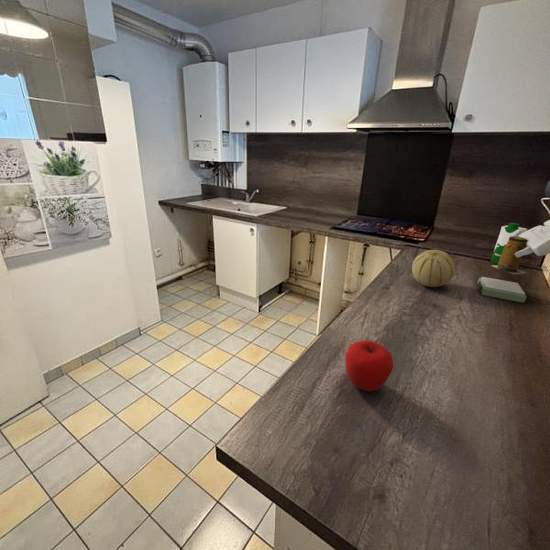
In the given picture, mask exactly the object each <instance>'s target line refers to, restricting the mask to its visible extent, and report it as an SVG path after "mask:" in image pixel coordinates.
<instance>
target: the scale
mask: <svg viewBox="0 0 550 550" xmlns="http://www.w3.org/2000/svg"><path fill="white" fill-rule="evenodd" d="M477 286H478V288H479V291H480V293H481V295H482V296H487V297H492V298H497V299H502V300H507V301H511V302H512V301H513V302H518V303H523V304H525V302H526V300H527V295H526V293H525V291H524V290H523V288H522V287H521V286H520V284H519V282H513V281H508V280H504V279H497V278H491V277H487V276H481V277H479V278H478V281H477Z"/></svg>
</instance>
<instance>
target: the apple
mask: <svg viewBox="0 0 550 550" xmlns="http://www.w3.org/2000/svg"><path fill="white" fill-rule="evenodd" d="M344 355H345V357H344V360H345V371H346V374H347V377H348V379H349V381H350V382H351V384H352V385H354V386H355V387H356V388H358V389H359V390H362V391H364V392H365V391H366V392H369V393H370V392H376V391H378V390H380V389H381V388H382V386H383V385H384V384H385V383H386V382H387V381H388V379H389V377H390V375H391V374H392V371H393V369H394V360H393V355H392V354H391V352H389V351H388V350H387V349H386V348H385V347H384V346H383V345H382V344H380V343H378V342H376V341H374V340H370V339H369V340H367V339H366V340H358V341H356V342H353V343H351V344H350V345H349V347H348V349H347V350H346V352H345V354H344Z"/></svg>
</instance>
